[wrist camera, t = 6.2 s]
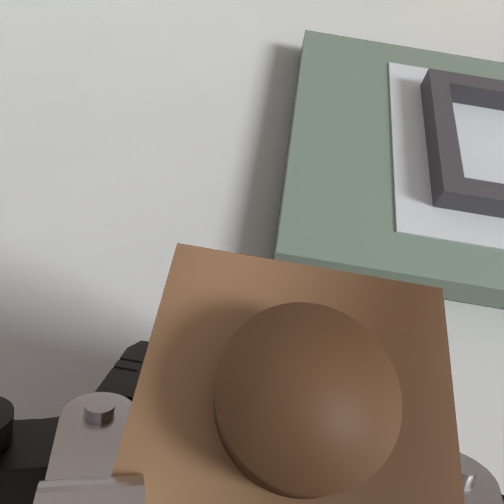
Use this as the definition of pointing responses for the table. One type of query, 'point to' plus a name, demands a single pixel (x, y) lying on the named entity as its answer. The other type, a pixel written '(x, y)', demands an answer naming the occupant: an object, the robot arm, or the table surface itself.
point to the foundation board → (397, 167)
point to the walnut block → (293, 388)
